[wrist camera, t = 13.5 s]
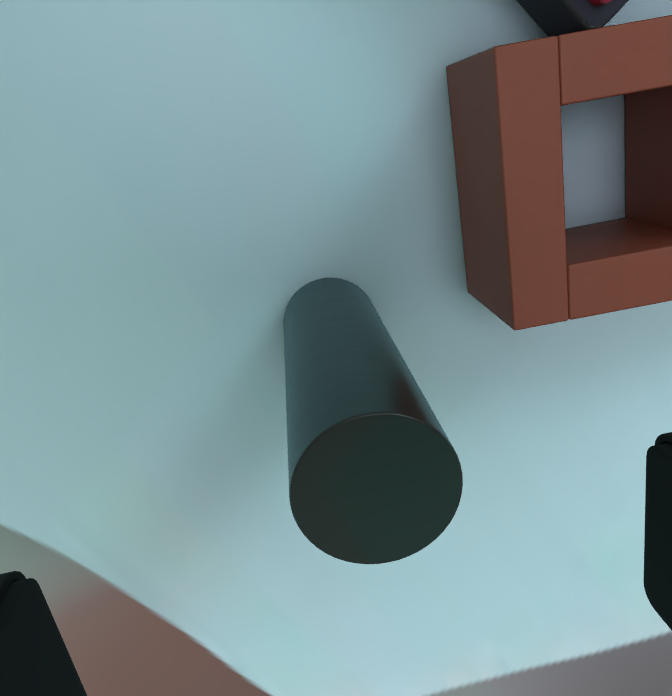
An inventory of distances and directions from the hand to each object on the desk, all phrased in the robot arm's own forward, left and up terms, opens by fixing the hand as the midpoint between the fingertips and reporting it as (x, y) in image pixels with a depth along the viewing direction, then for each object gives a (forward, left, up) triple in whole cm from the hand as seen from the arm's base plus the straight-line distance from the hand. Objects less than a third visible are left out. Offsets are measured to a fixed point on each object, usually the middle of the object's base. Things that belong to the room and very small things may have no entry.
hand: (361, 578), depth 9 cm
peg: (+1, -1, -15) cm, 15 cm away
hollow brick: (+13, +4, -15) cm, 21 cm away
